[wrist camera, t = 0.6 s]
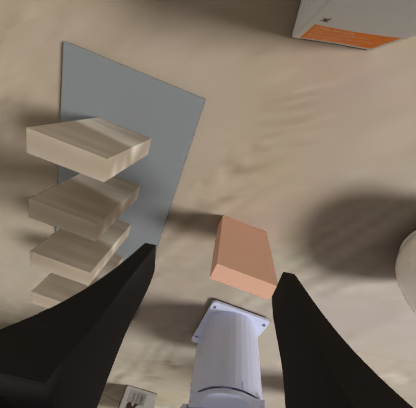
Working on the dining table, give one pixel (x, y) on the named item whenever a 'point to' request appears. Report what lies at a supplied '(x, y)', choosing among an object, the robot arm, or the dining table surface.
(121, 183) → the domino
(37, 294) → the domino
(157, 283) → the dining table surface
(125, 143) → the domino
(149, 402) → the coffee box
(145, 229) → the slate mat
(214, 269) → the terracotta domino
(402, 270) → the lidded jar
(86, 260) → the domino
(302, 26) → the skincare box
